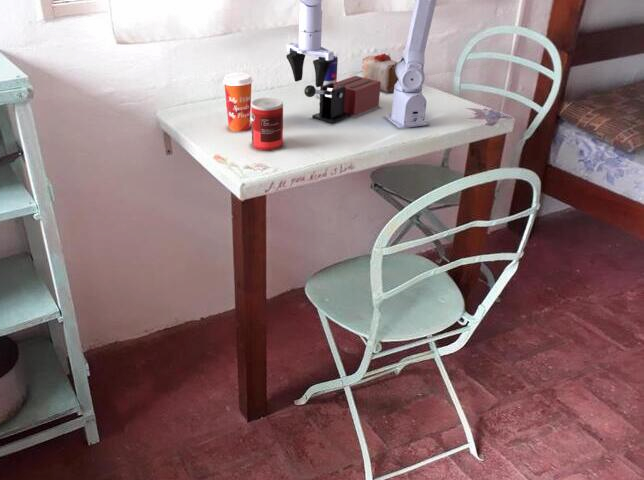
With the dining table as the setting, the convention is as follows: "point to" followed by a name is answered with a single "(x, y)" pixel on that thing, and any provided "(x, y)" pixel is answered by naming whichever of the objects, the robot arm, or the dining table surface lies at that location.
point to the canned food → (267, 123)
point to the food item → (380, 71)
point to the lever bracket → (332, 105)
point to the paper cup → (238, 100)
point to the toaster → (360, 95)
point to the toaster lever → (317, 91)
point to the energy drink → (331, 73)
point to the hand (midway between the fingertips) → (308, 83)
